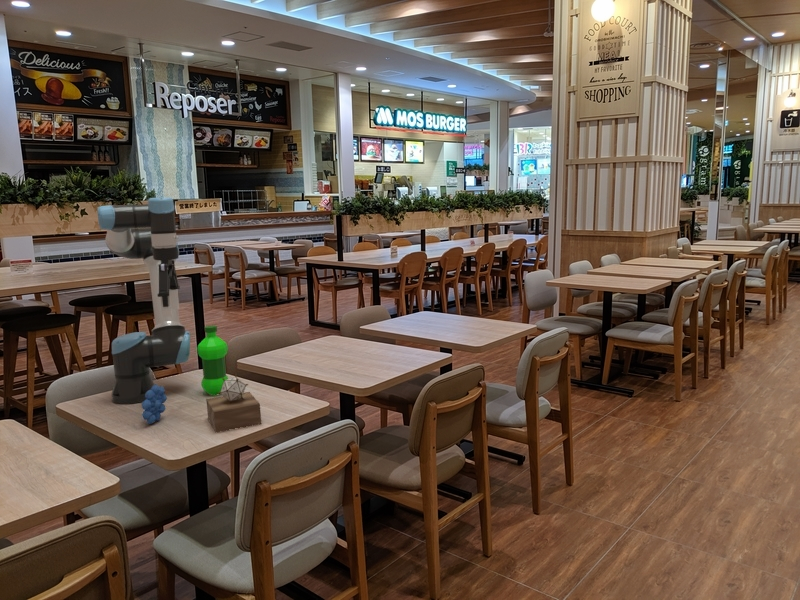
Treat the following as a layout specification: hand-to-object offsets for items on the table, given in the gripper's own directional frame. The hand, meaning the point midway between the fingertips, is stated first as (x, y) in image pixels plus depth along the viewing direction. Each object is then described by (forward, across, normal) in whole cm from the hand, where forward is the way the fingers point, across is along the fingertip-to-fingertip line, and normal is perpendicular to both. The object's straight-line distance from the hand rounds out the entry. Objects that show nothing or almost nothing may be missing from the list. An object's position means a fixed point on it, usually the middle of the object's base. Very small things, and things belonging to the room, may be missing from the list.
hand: (171, 313), depth 197 cm
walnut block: (+35, -10, -18) cm, 41 cm away
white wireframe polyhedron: (+28, -10, -18) cm, 35 cm away
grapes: (+35, -3, +8) cm, 36 cm away
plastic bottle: (+35, +22, -9) cm, 42 cm away
